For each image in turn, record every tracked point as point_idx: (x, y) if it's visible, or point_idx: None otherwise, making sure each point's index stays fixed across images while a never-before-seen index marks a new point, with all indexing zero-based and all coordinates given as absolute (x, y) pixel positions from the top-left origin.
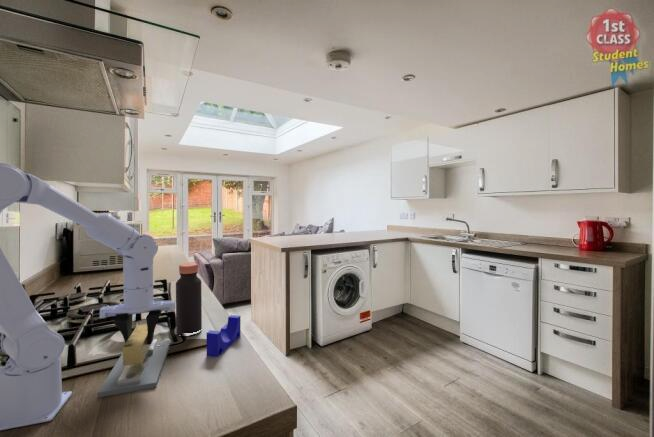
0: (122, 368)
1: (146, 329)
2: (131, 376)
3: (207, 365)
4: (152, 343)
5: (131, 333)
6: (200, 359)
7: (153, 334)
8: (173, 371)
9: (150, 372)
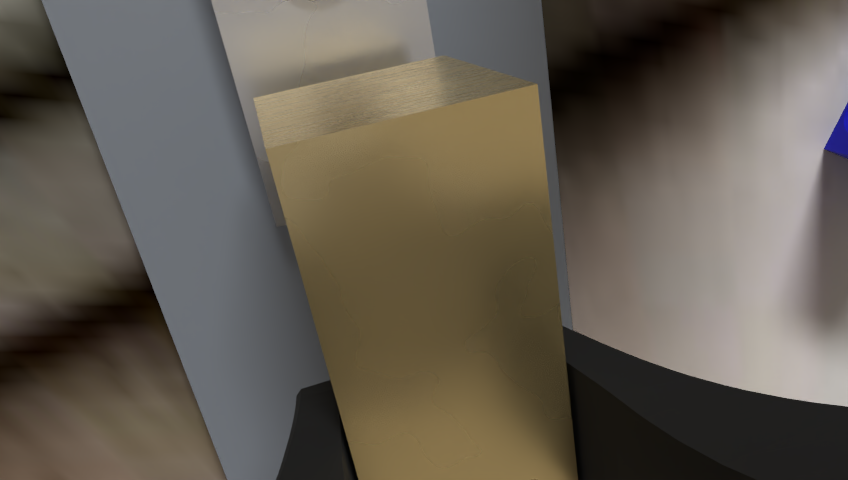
0: (284, 396)
1: (512, 346)
2: None
3: (821, 282)
4: (397, 26)
5: (347, 467)
6: (784, 202)
7: (582, 336)
8: (633, 350)
9: None
